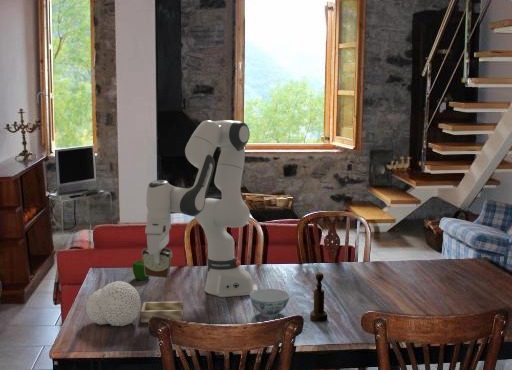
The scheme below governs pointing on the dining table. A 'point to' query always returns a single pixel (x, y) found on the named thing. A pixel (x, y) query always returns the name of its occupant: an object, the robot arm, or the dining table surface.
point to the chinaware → (269, 301)
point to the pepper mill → (318, 301)
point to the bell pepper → (139, 270)
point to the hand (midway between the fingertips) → (159, 260)
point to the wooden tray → (161, 310)
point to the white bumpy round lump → (114, 304)
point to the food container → (157, 268)
